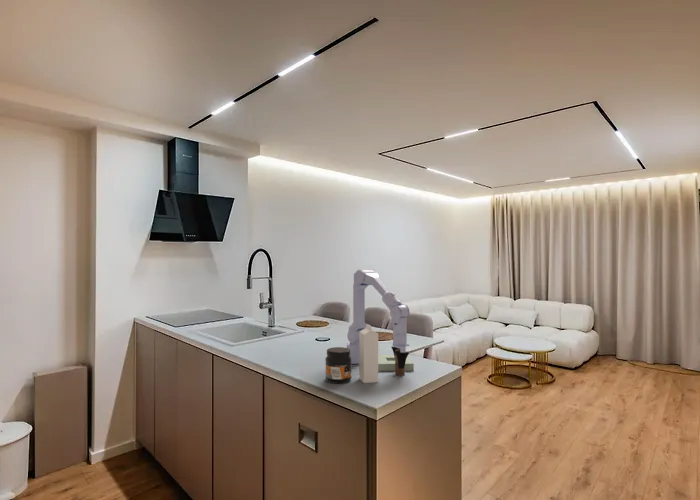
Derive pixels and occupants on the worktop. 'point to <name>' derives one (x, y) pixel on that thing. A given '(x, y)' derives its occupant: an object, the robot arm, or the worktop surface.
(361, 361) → the milk
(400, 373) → the peg
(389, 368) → the socket block
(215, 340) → the worktop surface
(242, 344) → the worktop surface
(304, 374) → the worktop surface
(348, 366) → the supplement container
